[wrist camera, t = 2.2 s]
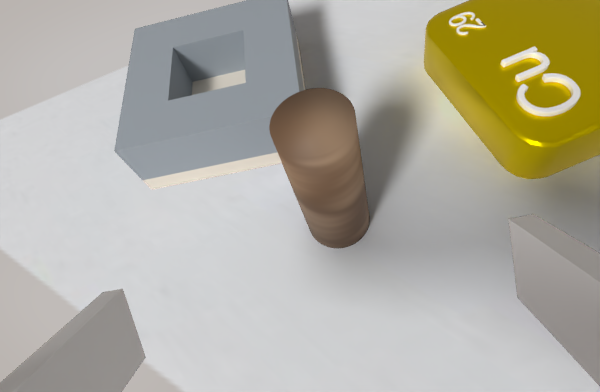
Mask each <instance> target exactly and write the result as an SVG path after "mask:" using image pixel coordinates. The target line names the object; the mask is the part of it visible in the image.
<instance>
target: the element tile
mask: <svg viewBox="0 0 600 392" xmlns="http://www.w3.org/2000/svg"><path fill="white" fill-rule="evenodd" d="M424 67H425V70H426V72H427V74H428V75H429V76H430V77H431V79H432V80H433V81H434V82H435V83H436V85H437V86H438V87H439V88H440V90H441V91H442V92H443V93H444V95H445V96H446V97H447V98H448V100H449V101H450V102H451V103H452V105H453V106H454V107H455V108H456V110H457V111H458V112H459V113H460V115H461V116H462V117H463V118H464V120H465V121H466V122H467V123H468V125H469V126H470V127H471V128H472V130H473V131H474V132H475V133H476V135H477V136H478V137H479V138H480V140H481V141H482V142H483V143H484V144H485V146H486V147H487V148H488V149H489V151H490V152H491V153H492V154H493V156H494V157H495V158H496V159H497V161H498V162H499V163H500V164H501V165H502V166H503V167H504V168H505V169H506V170H507V171H509V172H510V173H512V174H514V175H515V176H517V177H522V178H526V179H537V178H544V177H548V176H550V175H552V174H555V173H557V172H559V171H562V170H564V169H566V168H569V167H571V166H574V165H576V164H578V163H581V162H583V161H585V160H588V159H590V158H592V157H595V156H597V155H599V154H600V0H469V1H467V2H464V3H462V4H459V5H457V6H455V7H452V8H450V9H448V10H445V11H443V12H440V13H438V14H437V15H435V16H434V17H433V18H432V19H431V20H429V22H428V24H427V27H426V34H425V52H424Z"/></svg>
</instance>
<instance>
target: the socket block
mask: <svg viewBox="0 0 600 392" xmlns="http://www.w3.org/2000/svg"><path fill="white" fill-rule="evenodd" d="M303 90H305V83H304V76H303V70H302V63H301V56H300V49H299V43H298V38H297V35H296V31H295V27H294V23H293V19H292V15H291V11H290V7H289V3H288V0H246V1H242V2H239V3H235V4H231V5H227V6H223V7H219V8H215V9H211V10H208V11H203V12H199V13H196V14H192V15H187V16H184V17H180V18H176V19H172V20H168V21H164V22H160V23H156V24H152V25H148V26H144V27H141V28H136V29H135V31H134V37H133V43H132V49H131V55H130V61H129V67H128V73H127V79H126V85H125V91H124V97H123V103H122V109H121V115H120V121H119V127H118V133H117V139H116V145H115V152H116V153H117V154H118V155H119V156H120V157H121V158H122V159H123V160H124V162H125V163H126V164H127V165H128V166H129V167H130V168H131V169H132V170H133V171H134V172H135V173H136V174H137V175H138V176H139V177H140V178H141V179H142V180H143V181H144V182H145V183H146V184H147V185H148V187H149V188H150V189H151V190H153V189H158V188H163V187H168V186H173V185H178V184H183V183H188V182H193V181H198V180H202V179H207V178H212V177H217V176H222V175H227V174H232V173H237V172H242V171H247V170H251V169H256V168H261V167H266V166H271V165H276V164H281V163H282V162H281V159H280V157H279V155H278V152H277V150H276V147H275V145H274V143H273V140H272V138H271V135H270V130H269V125H270V120H271V117H272V115H273V113H274V111H275V110H276V108H277V107H278V106H279V105H280V104H281V103H282V102H283V101H284V100H285V99H287V98H288V97H290V96H291V95H293V94H295V93H297V92H300V91H303Z"/></svg>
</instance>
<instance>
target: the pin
mask: <svg viewBox="0 0 600 392" xmlns="http://www.w3.org/2000/svg"><path fill="white" fill-rule="evenodd" d="M269 130H270V135H271V138H272V140H273V143H274V145H275V147H276V150H277V152H278V155H279V157H280V159H281V162H282V164H283V167H284V169H285V171H286V174H287V176H288V179H289V181H290V183H291V186H292V188H293V191H294V193H295V195H296V198H297V200H298V203H299V205H300V207H301V210H302V212H303V215H304V217H305V219H306V222H307V224H308V227H309V229H310V231H311V233H312V235H313V237H314V238H315V239H316V240H317V241H318V242H319V243H321V244H323V245H325V246H327V247H331V248H344V247H348V246H351V245H353V244H355V243H356V242H358V241H359V240H360V239H361V238H362V237H363V236H364V235H365V233H366V231H367V229H368V226H369V222H370V217H369V210H368V203H367V196H366V188H365V181H364V174H363V166H362V159H361V152H360V145H359V137H358V130H357V123H356V115H355V110H354V107H353V105H352V103H351V102H350V101H349V99H348V98H347V97H345V96H344V95H343V94H341V93H339V92H337V91H334V90H331V89H325V88H313V89H307V90H303V91H300V92H297V93H295V94H293V95H291V96H290V97H288V98H287V99H285V100H284V101H283V102H282V103H281V104H280V105H279V106H278V107H277V108H276V110H275V111H274V113H273V115H272V117H271V120H270V125H269Z"/></svg>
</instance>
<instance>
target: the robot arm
mask: <svg viewBox="0 0 600 392" xmlns="http://www.w3.org/2000/svg"><path fill="white" fill-rule="evenodd" d="M509 228H510V237H511V246H512V254H513V263H514V272H515V281H516V289H517V297H518V299H519V300H520V301H521V302H522V303H523V304H524V305H525V306H526V307H527V308H528V309H529V310H530V311H531V313H532V314H533V315H534V316H535V317H536V318H537V319H538V320H539V321H540V322H541V323H542V324H543V326H544V327H545V328H546V329H547V330H548V331H549V332H550V333H551V334H552V335H553V336H554V337H555V338H556V340H557V341H558V342H559V343H560V344H561V345H562V346H563V347H564V348H565V349H566V350H567V351H568V352H569V354H570V355H571V356H572V357H573V358H574V359H575V360H576V361H577V362H578V363H579V364H580V365H581V367H582V368H583V369H584V370H585V371H586V372H587V373H588V374H589V375H590V376H591V377H592V378H593V379H594V381H595V382H596V383H597V384H598V385H599V386H600V253H599V252H597V251H595V250H594V249H592V248H590V247H589V246H587V245H585V244H584V243H582V242H580V241H578V240H577V239H575V238H573V237H572V236H570V235H568V234H567V233H565V232H563V231H561V230H560V229H558V228H556V227H555V226H553V225H551V224H550V223H548V222H546V221H544V220H543V219H541V218H539V217H538V216H536V215H534V214H531V215H526V216H520V217H515V218H509ZM145 358H146V357H145V354H144V351H143V348H142V345H141V342H140V339H139V336H138V333H137V330H136V327H135V324H134V321H133V318H132V315H131V312H130V309H129V306H128V303H127V300H126V297H125V294H124V291H123V289H119V290H113V291H108V292H102V293H101V294H100V295H99V296H98V297H97V298H96V299H95V300H93V301H92V302H91V303H90V304H89V305H88V306H87V307H85V308H84V309H83V310H82V311H81V312H80V313H79V314H78V315H76V316H75V317H74V318H73V319H72V320H71V321H70V322H69V323H67V324H66V325H65V326H64V327H63V328H62V329H61V330H59V331H58V332H57V333H56V334H55V335H54V336H53V337H51V338H50V339H49V340H48V341H47V342H46V343H45V344H43V345H42V347H40V348H39V349H38V350H37V351H36V352H34V353H33V354H32V355H31V356H30V357H29V358H28V359H27V360H25V361H24V362H23V363H22V364H21V365H20V366H19V367H17V368H16V369H15V370H14V371H13V372H12V373H11V374H9V375H8V376H7V377H6V378H5V379H4V380H3V381H2V382H0V392H122V391H123V389H124V388H125V386H126V385H127V384H128V382H129V381H130V379H131V378H132V376H133V375H134V373H135V372H136V371H137V369H138V368H139V366H140V365H141V363H142V362H143V360H144V359H145Z"/></svg>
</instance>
